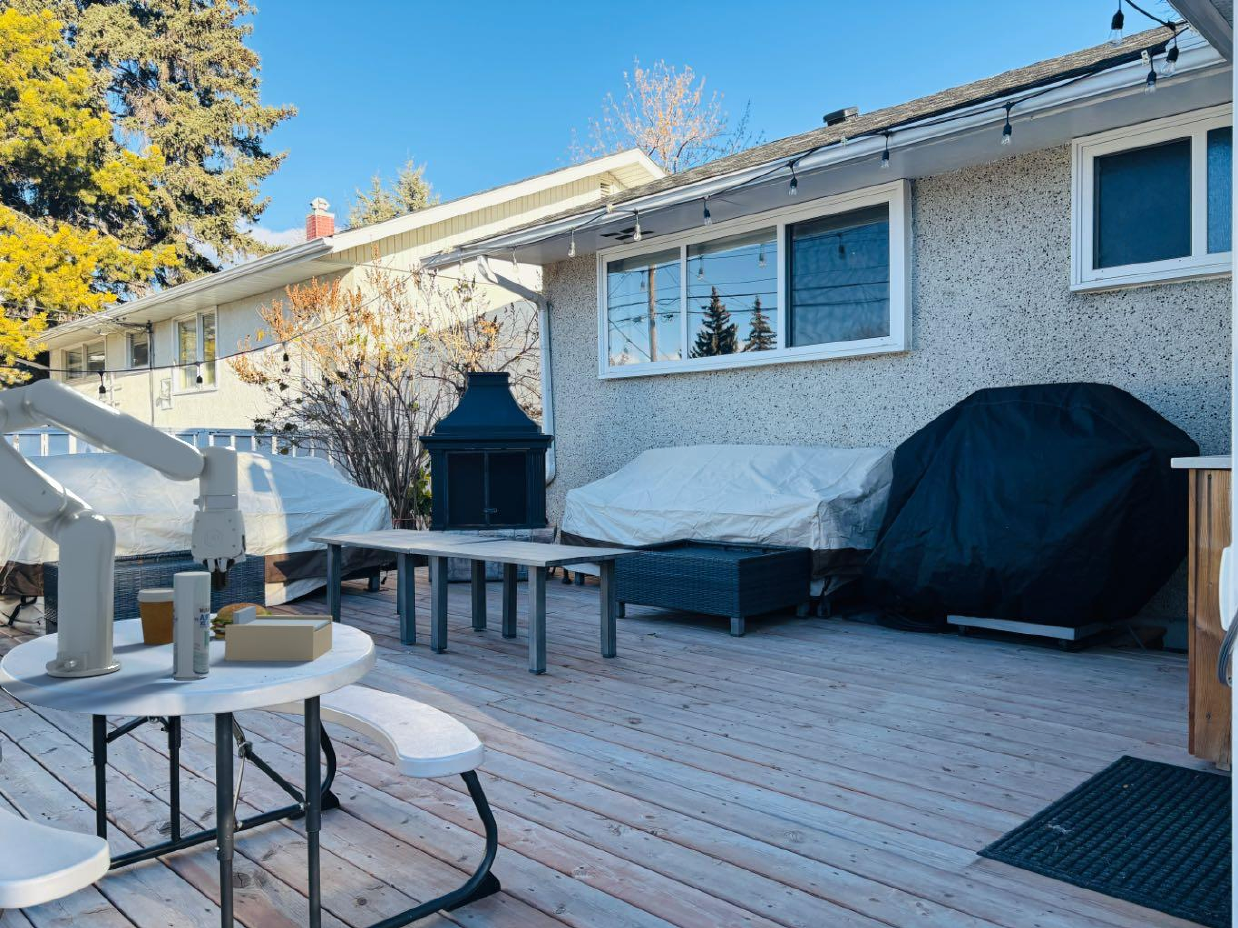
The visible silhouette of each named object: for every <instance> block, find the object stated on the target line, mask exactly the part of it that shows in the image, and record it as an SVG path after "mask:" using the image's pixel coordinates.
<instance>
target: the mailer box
mask: <svg viewBox="0 0 1238 928" xmlns="http://www.w3.org/2000/svg"><path fill="white" fill-rule="evenodd" d="M256 619H279V620H330V623H328V624H326V625H324V626H323V627H321V628H319V629H317V630H315V625H225V639H224V642H225V643H224V661H225V662H227V661H228V662H229V661H230V662H231V661H233V662H234V661H236V662H238V661H239V662H240V661H241V662H242V661H244V662H253V661H254V662H314V661H316V660H317V659H319V658H320V657H321V656H323V655H324V654H326V653H327V652H329V651H331V650H333V615H287V614H286V615H284V614H283V615H280V614H279V615H275V614H274V615H256Z"/></svg>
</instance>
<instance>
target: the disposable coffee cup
mask: <svg viewBox="0 0 1238 928" xmlns="http://www.w3.org/2000/svg"><path fill="white" fill-rule="evenodd" d="M136 599H137V601H138V606H139V612H140V613H139V614H140V621H141V628H142V629H141V630H142V636H143V644H144V645H149V646H159V645H167V644H173V613H174V587H155V588H153V587H152V588H146V589H139V591H138V594H137V596H136Z"/></svg>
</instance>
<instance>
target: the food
mask: <svg viewBox="0 0 1238 928" xmlns="http://www.w3.org/2000/svg"><path fill="white" fill-rule="evenodd" d="M249 606H256V615H275V613H272V612H271V611H268V610H266V609H265V608H264V607H263V606H261V605H259V604H255V603H250V602H240V603H239V602H238V603H232V604H228V605H225V606H224V607H222V608H220V609H219V610H218V611H217V613H216V616H215V617H214V618H210V624H211V626H210V631H213V633H214V637H215V638H216V639H218V640H225V625H233V613H234V612H236V611H239V610H241V609H244V608H247V607H249Z"/></svg>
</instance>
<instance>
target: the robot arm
mask: <svg viewBox="0 0 1238 928" xmlns="http://www.w3.org/2000/svg"><path fill="white" fill-rule="evenodd" d="M46 425H49V426H50V427H52V428H54V429H57V430H59V431H61V432H63V433H66V434H67V435H69V436H72V437H73V438H76V439H78V440H80V441H82V442H84V443H87V444H88V445H91V446H93V447H95V448H97V449H99V450H102V451H104V452H107V453H109V454H115V455H118V456H122V457H124V458H125V457H126V458H128V459H131V460H133V461H135V462H138V463H140V464H143V465H145V466H147V467H148V468H152V469H154V470H155V471H158V472H159V473H160V474H161V476H163V477H164V478H165V479H167V480H169V481H174V482H189V481H192V480H195V479H198V481H199V484H198V486H199V495H198V498H194V499H193V501H192V502H193V505H194V506H198V509H199V510H196V511H195V514H194V518H193V521H192V522H193V523H192V529H191V530H192V531H191V540H190V541H191V546H190V547H191V548H190V551H191V552H190V553H191V555H192V556H193V559H192V560H193V562H194V563H196V564H202V565H204V566H205V568H207V569H208V572H209V573H211V587H213V588H212V589H213V591H214V592H218V591H219V592H222V591H225V590H227V589H228V586H229V582H230V581H229V580H230V574H229V572H230V570H232V568H233V566H234V565H235V564H238V563H242V562H246V561H247V557H246V550H247V537H246V527H245V523H244V522H245V520H244V515H243V513H242V509H239V477H238V476H239V473H238V472H239V471H238V469H239V468H238V467H239V466H238V463H239V462H238V458H239V457H238V451H237V449H236V448H235V447H234V446H231V445H210V446H209V445H207V446H203V447H195V446H193V445H191V444H190V443H187V442H186V441H184V440H181V439H179V438H178V437H175V436H174V435H172V434H169V433H168V432H165V431H163V430H161V429H159V428H157V427H155V426H153V425H151V424H149V423H146V422H144V421H142V420H139V419H138V418H136V417H134V416H133V415H130V414H128V413H126V412H124V411H122V410H119V409H118V408H116V407H114V406H111V405H110V404H107V403H105V402H104V401H101V400H100V399H97V398H95V397H93V396H91V395H89V394H87V393H85V392H83V391H80V390H79V389H77V388H75V387H73V386H71V385H68V384H67V383H65V382H63V381H60V380H57V379H53V378H44V379H39V380H36V381H35V382H33V383H32V384H28V385H25V386H19V387H14V388H8V389H3V390H0V501H2V502H3V503H5V504H6V505H7V506H8V507H9V508H10V509H11V510H12V511H13V513H15V515H17V516H18V517H19V518H21V519H23V521H26V522H27V523H28V524H30V526H31V527H33V528H35V529H36V530H37V531H39V532H40V533H42V534H43V535H45V537H46V538H48V539H49V540H51V541H52V542H54V543H55V544H57V545H58V568H57V569H58V572H57V573H58V574H57V575H58V577H57V652H56V656H55V657H56V658H55V659H53V660H49V661H48V662H46V663H45V669H46V671H47V674H48V675H49V676H51V677H59V678H80V677H83V678H84V677H90V676H91V677H92V676H99V675H104V674H105V675H106V674H108V673H109V674H110V673H113V672H115V671H118V670H120V669H122V661H121V660H119V659H114V608H115V607H114V601H115V599H114V595H115V593H114V592H115V591H114V589H115V588H114V587H115V585H114V583H115V582H114V580H115V578H114V576H115V557H116V547H117V535H116V529H115V527H114V525H113V523H112V521H111V520H110V518H109V517H108V516H106V515H105V514H103V513H101V512H99V511H96V510H95V509H94V508H92V506H90V505H89V504H88V503H86V502H85V501H83V499H81V498H79V496H78V495H76V494H74V493H73V492H72V491H71V490H70V489H68V488H67V487H66V486H65V485H64V484H62V482H61V481H60V480H59V479H57V478H55V477H54V476H52V475H50V474H48V473H47V472H45V471H43V470H42V469H41V468H39V467H38V466H37V465H36V464H35V463H33V462H32V461H30V460H29V459H27V457H26V456H24V455H23V454H22V453H21V452H20V451H18V450H17V449H16V448H15V447H13V446H12V445H11V444H10V443H9V442H8V440H7V439H6V438H5V436H4V435H5V434H9V433H15V432H19V431H25V430H29V429H35V428H40V427H42V426H43V427H44V426H46ZM219 559H221V560H219Z"/></svg>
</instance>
